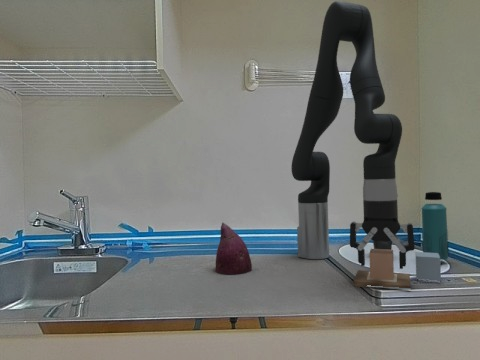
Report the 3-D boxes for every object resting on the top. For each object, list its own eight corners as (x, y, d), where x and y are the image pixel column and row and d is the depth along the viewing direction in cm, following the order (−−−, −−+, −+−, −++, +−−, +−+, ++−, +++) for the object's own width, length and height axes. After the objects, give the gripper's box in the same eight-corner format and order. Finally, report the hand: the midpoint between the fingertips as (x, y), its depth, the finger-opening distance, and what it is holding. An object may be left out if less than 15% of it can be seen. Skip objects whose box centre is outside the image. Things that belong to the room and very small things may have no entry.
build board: (353, 286, 83) (353, 280, 83) (358, 274, 92) (358, 269, 92) (410, 291, 78) (410, 285, 78) (409, 278, 87) (409, 273, 87)
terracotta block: (370, 278, 83) (369, 252, 83) (371, 272, 88) (370, 248, 88) (393, 280, 81) (392, 254, 81) (393, 274, 86) (393, 249, 86)
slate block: (416, 281, 85) (416, 256, 85) (416, 275, 89) (415, 251, 89) (440, 283, 83) (440, 257, 83) (438, 277, 87) (438, 253, 87)
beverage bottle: (452, 265, 97) (450, 192, 97) (426, 265, 99) (424, 192, 98) (444, 259, 104) (442, 191, 104) (419, 259, 105) (417, 191, 105)
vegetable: (212, 284, 98) (195, 233, 97) (226, 270, 108) (211, 223, 107) (247, 278, 94) (229, 224, 93) (258, 263, 104) (242, 214, 103)
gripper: (346, 199, 84) (348, 268, 84) (414, 199, 78) (416, 273, 78) (350, 197, 91) (352, 261, 91) (412, 197, 85) (414, 265, 85)
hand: (381, 266), depth 85 cm, fingers open, 8 cm apart
